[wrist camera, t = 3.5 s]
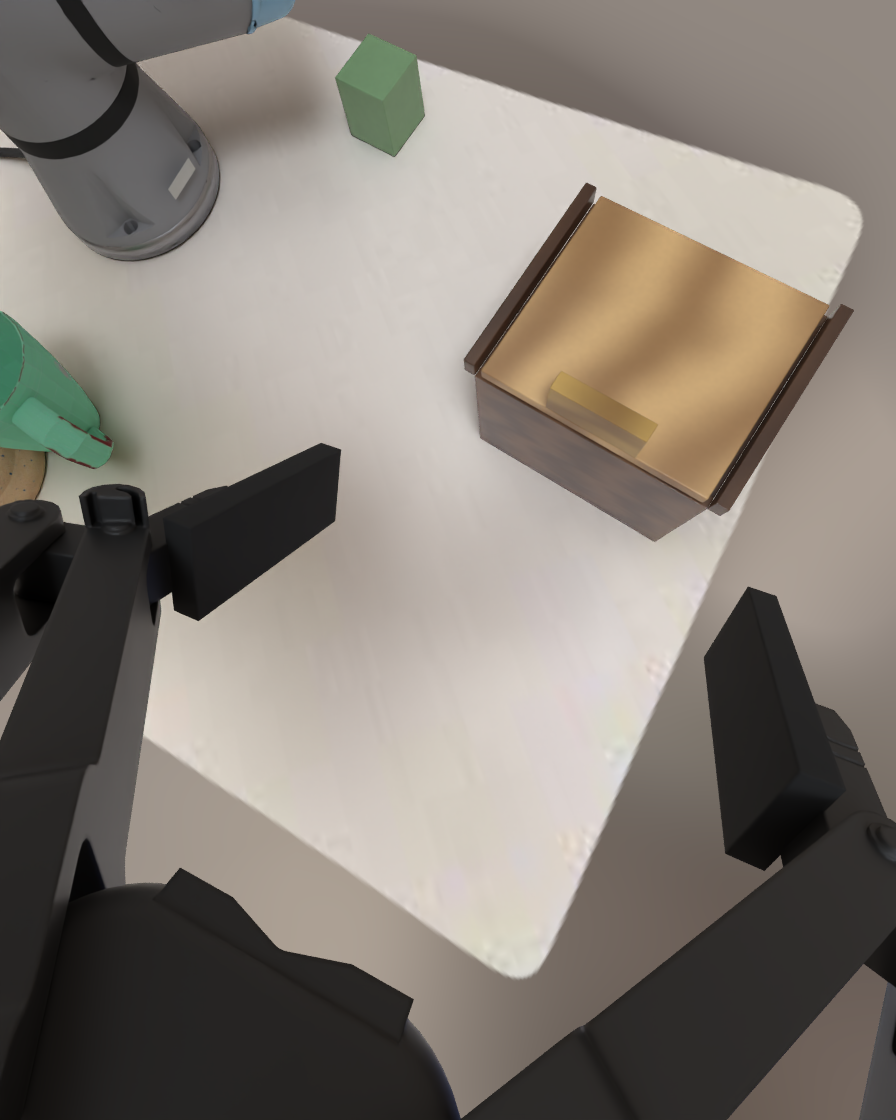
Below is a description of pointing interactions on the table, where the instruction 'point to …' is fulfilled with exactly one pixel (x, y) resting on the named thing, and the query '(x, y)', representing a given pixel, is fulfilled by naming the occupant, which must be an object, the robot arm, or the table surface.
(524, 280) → the walnut box
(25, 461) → the candle holder
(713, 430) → the sliding lid
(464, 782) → the table surface
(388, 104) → the block
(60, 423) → the mug
